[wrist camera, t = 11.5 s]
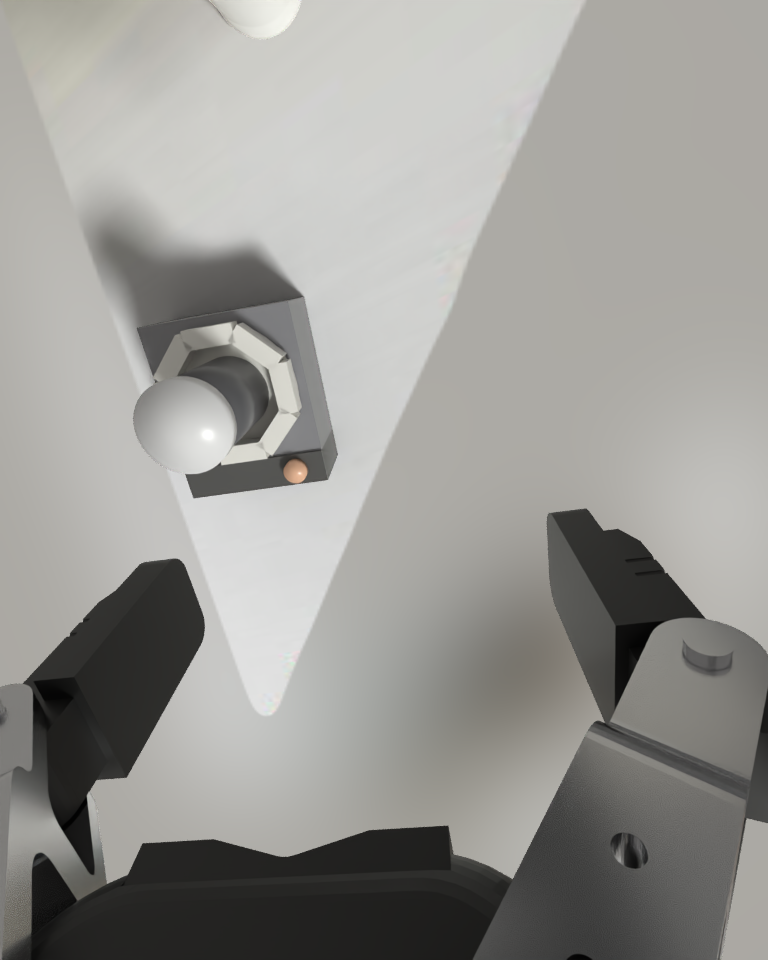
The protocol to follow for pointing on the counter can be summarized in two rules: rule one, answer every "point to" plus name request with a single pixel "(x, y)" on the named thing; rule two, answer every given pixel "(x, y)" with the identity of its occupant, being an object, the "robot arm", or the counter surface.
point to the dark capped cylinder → (200, 414)
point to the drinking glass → (258, 16)
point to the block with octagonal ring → (291, 383)
